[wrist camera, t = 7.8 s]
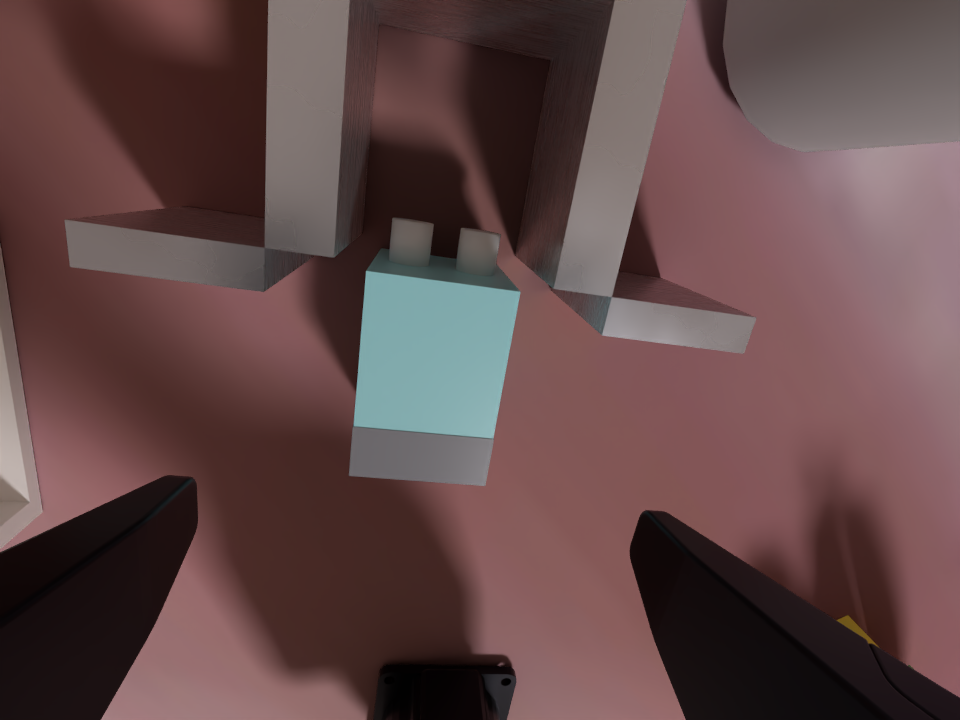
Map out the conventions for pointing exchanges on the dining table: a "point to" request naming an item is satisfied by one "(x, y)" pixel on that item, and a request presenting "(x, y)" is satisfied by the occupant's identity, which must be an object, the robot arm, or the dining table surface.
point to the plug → (431, 358)
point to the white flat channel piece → (14, 434)
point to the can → (846, 71)
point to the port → (345, 152)
